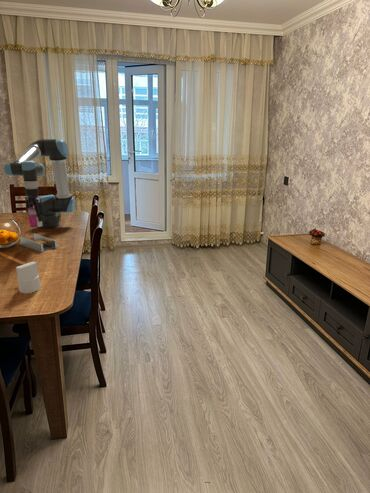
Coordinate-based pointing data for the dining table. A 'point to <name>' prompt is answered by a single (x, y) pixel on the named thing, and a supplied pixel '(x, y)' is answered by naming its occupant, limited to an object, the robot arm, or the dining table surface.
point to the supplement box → (32, 217)
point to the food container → (58, 215)
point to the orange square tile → (41, 241)
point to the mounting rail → (38, 246)
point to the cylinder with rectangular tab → (28, 277)
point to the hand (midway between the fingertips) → (36, 225)
